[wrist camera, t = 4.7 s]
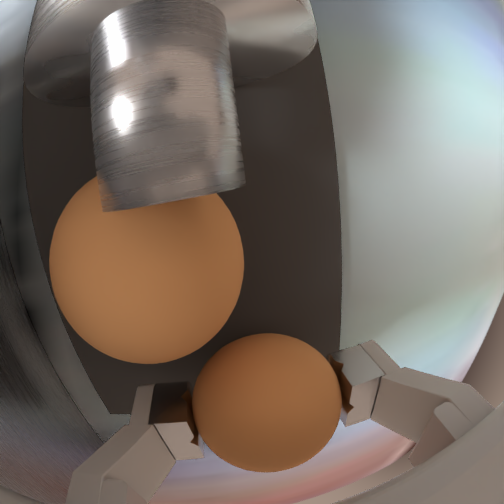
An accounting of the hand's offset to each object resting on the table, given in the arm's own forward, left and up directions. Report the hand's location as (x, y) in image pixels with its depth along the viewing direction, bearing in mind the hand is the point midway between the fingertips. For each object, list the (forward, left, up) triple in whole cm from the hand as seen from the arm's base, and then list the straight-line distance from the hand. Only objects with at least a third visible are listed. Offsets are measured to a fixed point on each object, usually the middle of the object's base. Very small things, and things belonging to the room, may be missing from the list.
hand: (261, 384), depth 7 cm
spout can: (-10, -1, -1) cm, 10 cm away
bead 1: (-4, -2, -1) cm, 5 cm away
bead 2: (0, 0, -1) cm, 1 cm away
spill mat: (-6, -1, -2) cm, 7 cm away
